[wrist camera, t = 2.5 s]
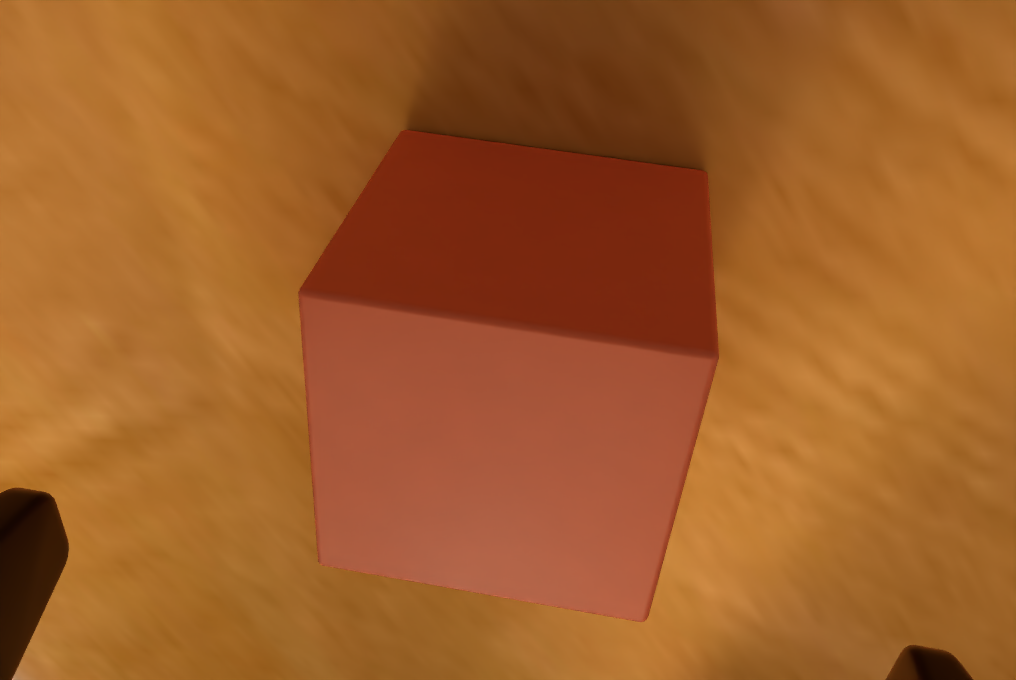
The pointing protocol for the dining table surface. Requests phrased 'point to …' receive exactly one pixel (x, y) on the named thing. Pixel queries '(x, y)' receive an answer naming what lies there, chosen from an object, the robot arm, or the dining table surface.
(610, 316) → the block
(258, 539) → the dining table surface
